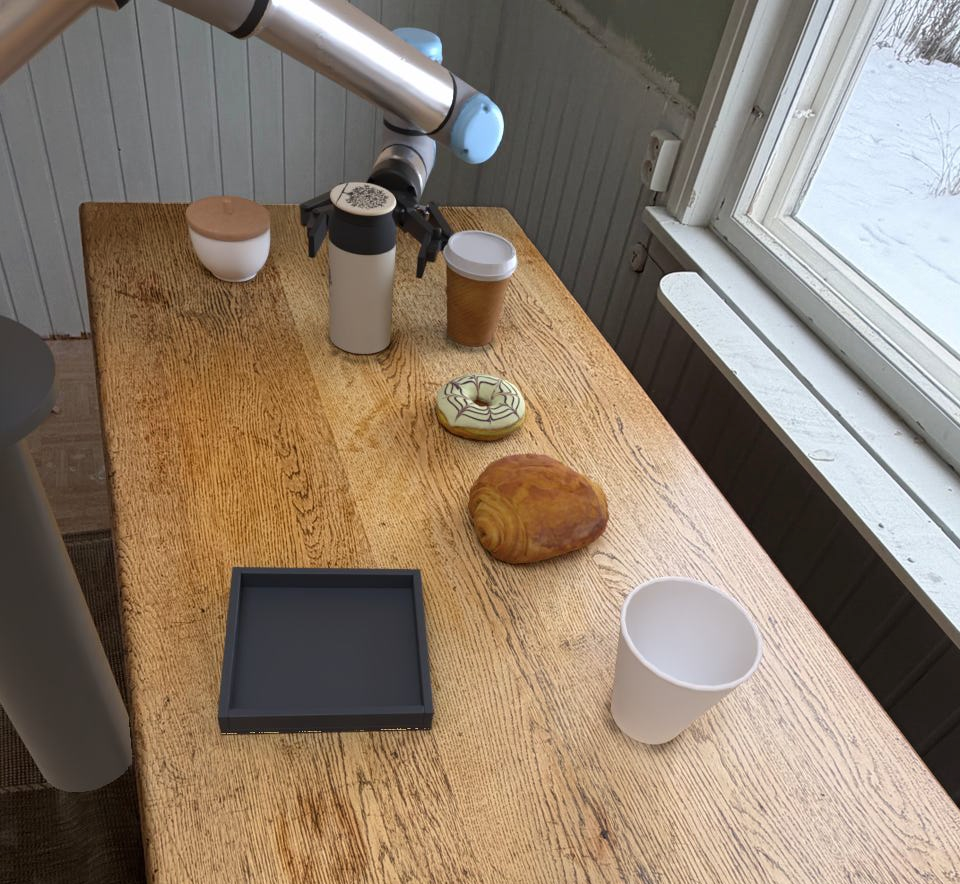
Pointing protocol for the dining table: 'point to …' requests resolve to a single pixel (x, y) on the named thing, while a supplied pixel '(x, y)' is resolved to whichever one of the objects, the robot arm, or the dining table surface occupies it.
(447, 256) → the disposable coffee cup
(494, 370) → the dining table surface
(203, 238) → the trinket box
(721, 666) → the cup
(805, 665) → the dining table surface
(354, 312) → the travel mug
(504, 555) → the croissant
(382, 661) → the serving tray
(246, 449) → the dining table surface
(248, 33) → the robot arm
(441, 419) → the decorated donut
